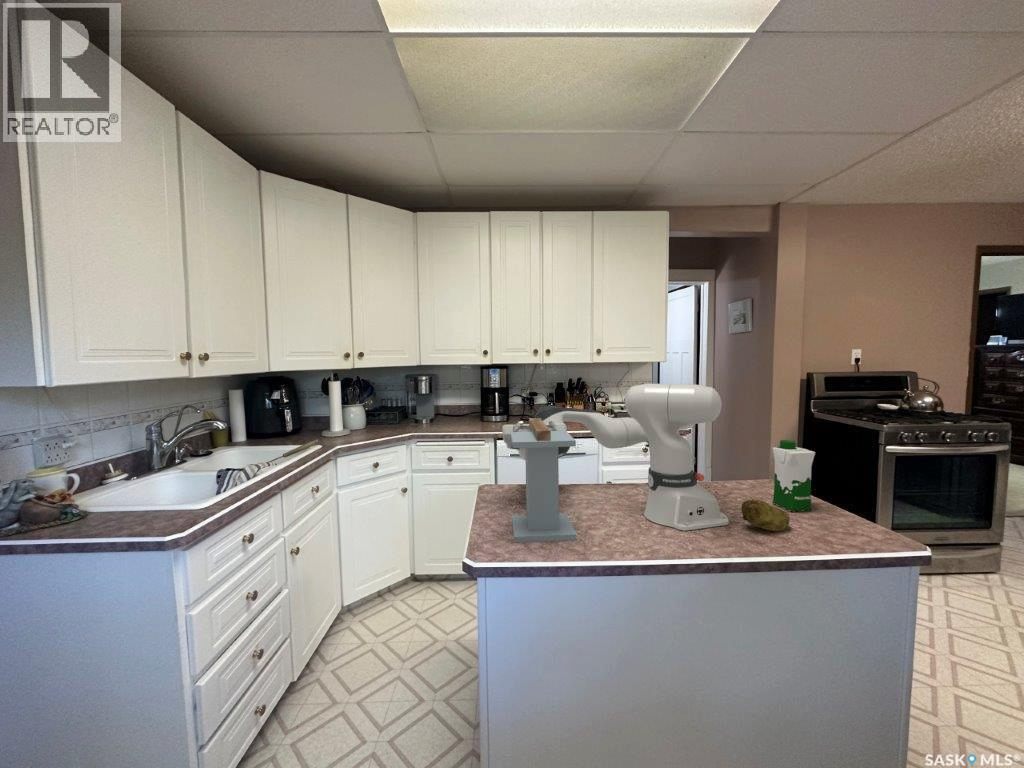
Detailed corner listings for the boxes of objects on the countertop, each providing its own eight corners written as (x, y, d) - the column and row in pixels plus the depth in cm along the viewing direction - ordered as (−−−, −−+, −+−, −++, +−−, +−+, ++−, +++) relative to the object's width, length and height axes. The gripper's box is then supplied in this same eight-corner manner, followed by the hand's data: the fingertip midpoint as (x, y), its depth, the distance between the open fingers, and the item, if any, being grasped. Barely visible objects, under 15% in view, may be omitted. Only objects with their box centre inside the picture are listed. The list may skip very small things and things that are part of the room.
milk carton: (792, 501, 128) (793, 439, 127) (817, 511, 119) (819, 445, 118) (767, 503, 127) (769, 440, 125) (791, 514, 118) (793, 446, 116)
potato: (801, 537, 103) (801, 506, 102) (747, 534, 105) (747, 504, 104) (783, 523, 111) (784, 495, 111) (734, 521, 113) (734, 494, 113)
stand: (566, 518, 117) (565, 430, 116) (576, 540, 103) (575, 440, 102) (512, 520, 117) (510, 432, 115) (514, 542, 103) (512, 442, 101)
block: (540, 425, 124) (540, 417, 124) (550, 440, 102) (550, 430, 102) (529, 426, 124) (529, 418, 124) (537, 440, 102) (536, 431, 102)
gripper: (564, 446, 131) (571, 432, 119) (502, 448, 130) (502, 434, 118) (562, 428, 134) (569, 413, 122) (501, 430, 133) (502, 414, 121)
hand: (536, 423), depth 120 cm, fingers open, 8 cm apart
